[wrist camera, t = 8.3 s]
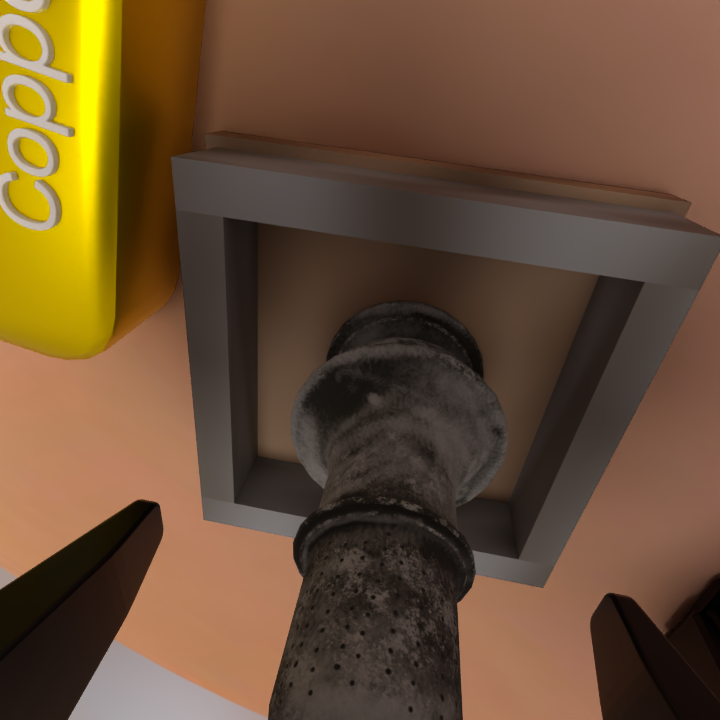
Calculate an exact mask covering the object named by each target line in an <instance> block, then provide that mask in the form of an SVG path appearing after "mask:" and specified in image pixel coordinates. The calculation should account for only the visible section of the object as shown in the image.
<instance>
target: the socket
mask: <svg viewBox="0 0 720 720" xmlns="http://www.w3.org/2000/svg"><path fill="white" fill-rule="evenodd" d="M205 145H206V149H204V150H200V151H195V152H191V153H186V154H181V155H177V156H172V157H171V161H172V173H173V184H174V195H175V206H176V217H177V228H178V240H179V251H180V262H181V273H182V284H183V295H184V307H185V318H186V329H187V340H188V351H189V362H190V374H191V385H192V396H193V407H194V418H195V429H196V441H197V452H198V463H199V474H200V485H201V496H202V508H203V519H204V520H207V521H212V522H217V523H222V524H227V525H232V526H237V527H242V528H247V529H252V530H257V531H262V532H267V533H272V534H277V535H282V536H287V537H292V538H295V536H296V534H297V531H298V529H299V527H300V525H301V523H302V522H303V521H304V520H305V519H306V518H307V517H308V516H309V515H310V514H311V513H312V512H314V511H316V510H318V509H319V506H320V503H321V499H322V495H323V492H324V489H323V488H322V487H321V486H320V485H319V484H318V483H317V482H316V481H315V480H313V479H312V478H311V477H310V475H309V474H308V472H307V471H306V469H305V468H304V466H303V465H302V463H301V462H300V460H299V459H298V457H297V454H296V451H295V448H294V445H293V442H292V439H291V416H290V415H291V412H292V409H293V406H294V403H295V400H296V396H297V393H298V391H299V390H300V389H301V387H302V386H303V385H304V383H305V382H306V381H307V379H308V378H309V376H310V375H311V374H312V372H313V371H315V370H316V369H318V368H319V367H320V366H322V365H323V364H324V363H326V357H327V354H328V351H329V348H330V345H331V342H332V339H333V338H334V336H335V335H336V334H337V332H338V331H339V329H340V328H341V327H342V325H343V324H344V323H345V322H346V321H348V320H349V319H350V318H352V317H353V316H354V315H356V314H357V313H358V312H359V311H362V310H364V309H367V308H369V307H372V306H374V305H376V304H379V303H386V302H393V301H400V300H402V301H411V302H420V303H425V304H428V305H430V306H433V307H436V308H438V309H441V310H444V311H445V312H447V313H448V314H450V315H451V316H453V317H454V318H455V319H457V320H458V321H460V322H461V323H462V324H463V325H464V326H465V328H466V329H467V330H468V331H469V332H470V334H471V335H472V336H473V337H474V339H475V341H476V343H477V346H478V348H479V350H480V353H481V355H482V361H483V372H484V378H483V380H484V381H485V382H486V384H487V385H488V386H489V387H490V388H491V389H492V391H493V392H494V393H495V394H496V395H497V398H498V400H499V403H500V405H501V407H502V410H503V412H504V415H505V417H506V420H507V433H508V447H507V451H506V454H505V457H504V461H503V464H502V467H501V469H500V470H499V472H498V473H497V474H496V476H495V477H494V479H493V480H492V482H491V483H490V485H489V486H488V487H486V488H485V489H484V490H483V491H482V492H480V493H479V494H478V495H477V496H475V497H474V498H473V499H472V500H471V501H469V502H467V503H465V504H462V505H460V506H458V507H456V518H457V530H458V531H459V532H460V533H462V534H463V535H464V537H465V538H466V540H467V542H468V544H469V546H470V547H471V549H472V551H473V554H474V561H475V569H476V575H481V576H486V577H491V578H496V579H501V580H506V581H511V582H516V583H521V584H526V585H531V586H536V587H541V588H543V587H544V585H545V583H546V581H547V579H548V578H549V576H550V574H551V572H552V570H553V568H554V566H555V564H556V562H557V560H558V558H559V557H560V555H561V553H562V551H563V549H564V547H565V545H566V543H567V541H568V539H569V538H570V536H571V534H572V532H573V530H574V528H575V526H576V524H577V522H578V520H579V518H580V517H581V515H582V513H583V511H584V509H585V507H586V505H587V503H588V501H589V499H590V498H591V496H592V494H593V492H594V490H595V488H596V486H597V484H598V482H599V480H600V478H601V477H602V475H603V473H604V471H605V469H606V467H607V465H608V463H609V461H610V459H611V458H612V456H613V454H614V452H615V450H616V448H617V446H618V444H619V442H620V440H621V438H622V437H623V435H624V433H625V431H626V429H627V427H628V425H629V423H630V421H631V419H632V418H633V416H634V414H635V412H636V410H637V408H638V406H639V404H640V402H641V400H642V399H643V397H644V395H645V393H646V391H647V389H648V387H649V385H650V383H651V381H652V379H653V378H654V376H655V374H656V372H657V370H658V368H659V366H660V364H661V362H662V360H663V359H664V357H665V355H666V353H667V351H668V349H669V347H670V345H671V343H672V341H673V339H674V338H675V336H676V334H677V332H678V330H679V328H680V326H681V324H682V322H683V320H684V319H685V317H686V315H687V313H688V311H689V309H690V307H691V305H692V303H693V301H694V299H695V298H696V296H697V294H698V292H699V290H700V288H701V286H702V284H703V282H704V280H705V279H706V277H707V275H708V273H709V271H710V269H711V267H712V265H713V263H714V261H715V259H716V258H717V256H718V254H719V252H720V234H718V233H715V232H713V231H711V230H709V229H707V228H705V227H703V226H701V225H699V224H696V223H694V222H692V221H690V220H688V219H686V218H685V216H686V214H687V212H688V209H689V207H690V205H691V202H689V201H686V200H684V199H681V198H679V197H676V196H674V195H671V194H664V193H657V192H650V191H643V190H636V189H629V188H622V187H615V186H608V185H601V184H594V183H586V182H579V181H572V180H565V179H558V178H551V177H544V176H537V175H530V174H523V173H516V172H509V171H501V170H494V169H487V168H480V167H473V166H466V165H459V164H452V163H445V162H438V161H431V160H424V159H416V158H409V157H402V156H395V155H388V154H381V153H374V152H367V151H360V150H353V149H346V148H339V147H331V146H324V145H317V144H310V143H303V142H296V141H289V140H282V139H275V138H268V137H261V136H254V135H246V134H239V133H232V132H225V131H220V132H213V133H206V134H205Z"/></svg>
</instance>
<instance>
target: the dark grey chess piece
mask: <svg viewBox="0 0 720 720" xmlns="http://www.w3.org/2000/svg"><path fill="white" fill-rule="evenodd" d="M483 378H484V372H483V361H482V355H481V353H480V350H479V348H478V346H477V343H476V341H475V339H474V337H473V336H472V335H471V334H470V332H469V331H468V330H467V329H466V328H465V326H464V325H463V324H462V323H461V322H460V321H458V320H457V319H455V318H454V317H453V316H451V315H450V314H448V313H447V312H445V311H444V310H441V309H438V308H436V307H433V306H430V305H428V304H425V303H420V302H411V301H402V300H400V301H393V302H386V303H379V304H376V305H374V306H372V307H369V308H367V309H364V310H362V311H359V312H358V313H357V314H356V315H354V316H353V317H352V318H350V319H349V320H348V321H346V322H345V323H344V324H343V325H342V327H341V328H340V329H339V331H338V332H337V334H336V335H335V336H334V338H333V339H332V342H331V345H330V348H329V351H328V354H327V357H326V363H324V364H323V365H322V366H320V367H319V368H318V369H316V370H315V371H313V372H312V374H311V375H310V376H309V378H308V379H307V381H306V382H305V383H304V385H303V386H302V387H301V389H300V390H299V391H298V393H297V396H296V400H295V403H294V406H293V409H292V412H291V415H290V416H291V439H292V442H293V445H294V448H295V451H296V454H297V457H298V459H299V460H300V462H301V463H302V465H303V466H304V468H305V469H306V471H307V472H308V474H309V475H310V477H311V478H312V479H313V480H315V481H316V482H317V483H318V484H319V485H320V486H321V487H322V488H323V489H324V492H323V495H322V499H321V503H320V506H319V509H318V510H316V511H314V512H312V513H311V514H310V515H309V516H308V517H307V518H306V519H305V520H304V521H303V522H302V523H301V525H300V527H299V529H298V531H297V534H296V536H295V539H294V542H293V557H294V560H295V563H296V565H297V568H298V570H299V573H300V574H301V575H302V577H303V582H302V586H301V589H300V593H299V597H298V600H297V604H296V608H295V611H294V615H293V619H292V622H291V626H290V630H289V634H288V637H287V641H286V645H285V648H284V652H283V656H282V659H281V663H280V667H279V670H278V674H277V678H276V681H275V685H274V689H273V693H272V696H271V700H270V704H269V715H268V720H463V715H462V694H461V674H460V653H459V632H458V612H457V603H458V602H460V601H461V600H462V599H463V597H464V596H465V595H466V594H467V592H468V591H469V590H470V589H471V588H472V584H473V581H474V577H475V574H476V569H475V561H474V554H473V551H472V549H471V547H470V546H469V544H468V542H467V540H466V538H465V537H464V535H463V534H462V533H460V532H459V531H458V530H457V518H456V507H458V506H460V505H462V504H465V503H467V502H469V501H471V500H472V499H473V498H474V497H475V496H477V495H478V494H479V493H480V492H482V491H483V490H484V489H485V488H486V487H488V486H489V485H490V483H491V482H492V480H493V479H494V477H495V476H496V474H497V473H498V472H499V470H500V469H501V467H502V464H503V461H504V457H505V454H506V451H507V447H508V433H507V420H506V417H505V415H504V412H503V410H502V407H501V405H500V403H499V400H498V398H497V395H496V394H495V393H494V392H493V391H492V389H491V388H490V387H489V386H488V385H487V384H486V382H485V381H484V380H483Z"/></svg>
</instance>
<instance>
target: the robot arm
mask: <svg viewBox="0 0 720 720" xmlns="http://www.w3.org/2000/svg"><path fill="white" fill-rule="evenodd" d="M162 536H163V522H162V516H161V510H160V505H159V504H158V503H157V502H153V501H148V500H142V499H140V500H137V501H135V502H133V503H131V504H130V505H128V506H127V507H125V508H124V509H122V510H121V511H119V512H118V513H116V514H115V515H113V516H112V517H110V518H108V519H107V520H105V521H104V522H102V523H101V524H99V525H98V526H96V527H95V528H93V529H92V530H90V531H89V532H87V533H86V534H84V535H83V536H81V537H79V538H78V539H76V540H75V541H73V542H72V543H70V544H69V545H67V546H66V547H64V548H63V549H61V550H60V551H58V552H57V553H55V554H54V555H52V556H50V557H49V558H47V559H46V560H44V561H43V562H41V563H40V564H38V565H37V566H35V567H34V568H32V569H31V570H29V571H28V572H26V573H24V574H23V575H21V576H20V577H18V578H17V579H15V580H14V581H12V582H11V583H9V584H8V585H6V586H5V587H3V588H2V589H0V720H68V718H69V716H70V715H71V713H72V711H73V710H74V708H75V706H76V704H77V703H78V701H79V699H80V697H81V696H82V694H83V692H84V690H85V689H86V687H87V685H88V683H89V681H90V680H91V678H92V676H93V675H94V673H95V671H96V669H97V668H98V666H99V664H100V662H101V661H102V659H103V657H104V655H105V654H106V652H107V650H108V648H109V647H110V645H111V643H112V641H113V640H114V638H115V636H116V634H117V633H118V631H119V629H120V627H121V626H122V624H123V622H124V620H125V618H126V616H127V615H128V612H129V610H130V608H131V606H132V604H133V602H134V600H135V598H136V595H137V593H138V591H139V589H140V586H141V584H142V582H143V580H144V577H145V575H146V573H147V571H148V568H149V566H150V564H151V562H152V560H153V557H154V555H155V553H156V551H157V548H158V546H159V544H160V542H161V539H162ZM590 629H591V637H592V645H593V652H594V660H595V667H596V675H597V682H598V690H599V698H600V705H601V711H602V717H603V720H720V578H719V579H717V580H716V581H714V582H713V583H712V585H711V586H710V587H709V588H708V589H707V591H706V592H705V593H704V594H703V595H702V597H701V598H700V599H699V600H698V601H697V603H696V604H695V605H694V606H693V607H692V609H691V610H690V611H689V612H688V613H687V615H686V616H685V617H684V618H683V620H682V621H681V622H680V623H679V624H678V626H677V627H676V628H675V629H674V630H673V632H672V633H671V634H670V635H669V636H668V638H666V637H665V636H664V635H663V633H662V632H661V631H660V630H659V629H658V628H657V626H656V625H655V624H654V623H653V622H652V620H651V619H650V618H649V617H648V616H647V614H646V613H645V612H644V611H643V610H642V609H641V607H640V606H639V605H638V604H637V603H636V602H635V601H634V600H633V599H632V598H631V597H628V596H625V595H620V594H615V593H608V594H606V595H605V596H604V598H603V599H602V601H601V602H600V604H599V606H598V607H597V609H596V610H595V612H594V613H593V615H592V617H591V622H590Z"/></svg>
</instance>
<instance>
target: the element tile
mask: <svg viewBox="0 0 720 720" xmlns="http://www.w3.org/2000/svg"><path fill="white" fill-rule="evenodd" d="M205 3H206V0H0V340H1V341H4V342H7V343H10V344H13V345H16V346H19V347H22V348H25V349H28V350H31V351H34V352H37V353H40V354H43V355H46V356H49V357H55V358H60V359H65V360H75V359H89V358H92V357H94V356H95V355H97V354H99V353H101V352H103V351H105V350H107V349H108V348H110V347H111V346H112V345H113V344H115V343H116V342H117V341H119V340H120V339H121V338H123V337H124V336H125V335H126V334H128V333H129V332H130V331H132V330H133V329H134V328H136V327H137V326H138V325H140V324H141V323H142V322H143V321H145V320H146V319H147V318H149V317H150V316H151V315H153V314H154V313H155V312H156V311H158V310H159V309H160V308H162V307H163V306H164V305H165V304H166V302H167V301H168V300H169V298H170V297H171V295H172V294H173V292H174V289H175V286H176V282H177V278H178V272H179V262H180V251H179V240H178V228H177V217H176V206H175V195H174V184H173V173H172V161H171V157H172V156H177V155H181V154H186V153H191V143H192V133H193V123H194V113H195V103H196V93H197V83H198V73H199V63H200V53H201V43H202V33H203V23H204V13H205Z"/></svg>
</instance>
